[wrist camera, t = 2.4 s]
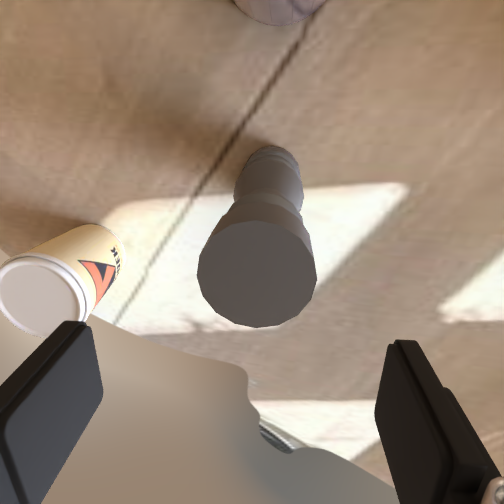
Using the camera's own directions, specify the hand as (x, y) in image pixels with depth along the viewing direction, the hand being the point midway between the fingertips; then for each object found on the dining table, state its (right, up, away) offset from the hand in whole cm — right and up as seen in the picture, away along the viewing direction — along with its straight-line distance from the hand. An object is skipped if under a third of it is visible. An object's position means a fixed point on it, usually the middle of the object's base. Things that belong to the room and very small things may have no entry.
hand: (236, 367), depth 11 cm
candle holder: (+3, +12, +29) cm, 31 cm away
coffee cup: (-19, +4, +34) cm, 40 cm away
